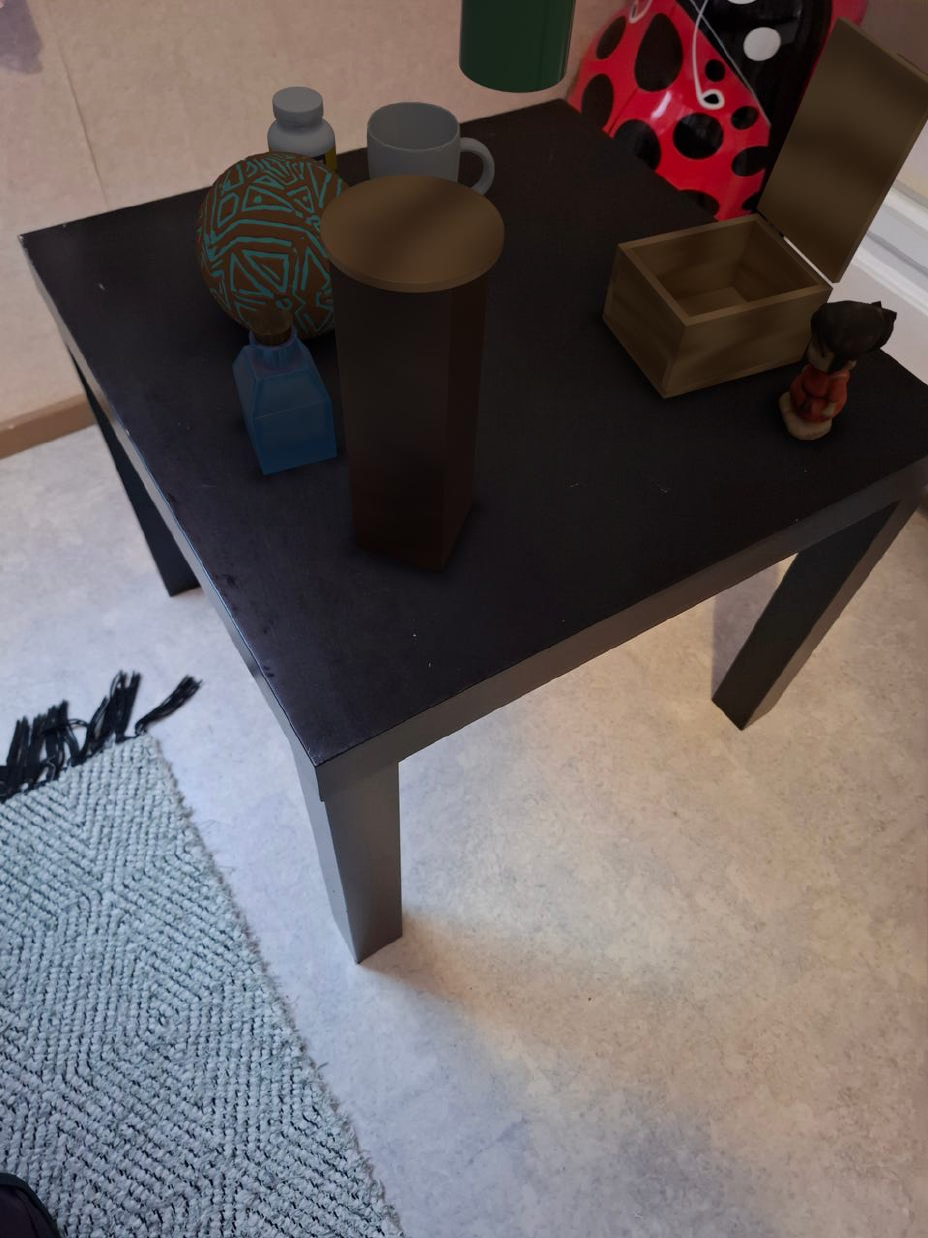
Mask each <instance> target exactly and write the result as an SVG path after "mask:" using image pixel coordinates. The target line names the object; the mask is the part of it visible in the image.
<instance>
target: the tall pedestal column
mask: <svg viewBox="0 0 928 1238" xmlns="http://www.w3.org/2000/svg"><path fill="white" fill-rule="evenodd" d="M349 187H350V188H348V189H346V190H345V191H343V192H342V193H340V194H339V195H338V196H336V197H335V198H334V199H333V200H332V201H331V202H330V203H329V204H328V206H327V207H326V209H325V210H324V212H323V215H322V217H321V221H320V237H321V243H322V247H323V250H324V252H325V253H326V255H327V257H328V260H329V271H330V281H331V292H332V302H333V313H334V323H335V329H334V331H335V341H336V342H335V343H336V353H337V364H338V373H339V384H340V394H341V395H340V396H341V403H342V404H341V405H342V406H341V407H342V415H343V416H342V417H343V426H344V438H345V447H346V458H347V467H348V478H349V489H350V501H351V510H352V511H351V512H352V520H353V521H352V522H353V531H354V541H355V547H356V548H359V549H362V550H365V551H368V552H372V553H374V554H377V555H378V554H379V555H381V556H384V557H388V558H390V559H394V560H397V561H400V562H403V563H407V564H410V565H414V566H417V567H420V568H423V569H427V570H430V571H433V572H437V573H439V574H441V573H443V570H444V568H445V565H446V563H447V561H448V559H449V556H450V554H451V552H452V550H453V547H454V545H455V543H456V542H457V538H458V537H459V534H460V532H461V530H462V528H463V526H464V523H465V521H466V519H467V517H468V514H469V512H470V510H471V508H472V497H473V496H472V495H473V481H474V471H475V469H474V468H475V455H476V454H475V453H476V441H477V429H478V418H479V417H478V415H479V404H480V402H479V401H480V390H481V376H482V366H483V365H482V362H483V351H484V349H483V348H484V337H485V324H486V323H485V322H486V310H487V298H488V284H489V272H490V271H489V270H490V269H491V268H492V267H493V266H494V265H495V264H496V262H497V261H498V259H499V258H500V256H501V254H502V252H503V248H504V244H505V225H504V219H503V217H502V216H501V213H500V211H499V210H498V209H497V207H496V206H495V205H494V204H493V203H492V202H491V201H490V200H489V199H488V198H486V196H485V195H484V196H483V195H481V194H480V193H478V192H476V191H475V190H473V189H471V187H469V186H467V185H465V184H462V183H460V182H458V181H457V182H454V181H451V180H447V179H443V178H438V177H433V176H425V175H393V176H385V177H379V178H375V179H371V180H370V179H368V180H365V181H362V182H359V183H356V184H354V185H352V186H349Z"/></svg>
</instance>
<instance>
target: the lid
mask: <svg viewBox="0 0 928 1238" xmlns="http://www.w3.org/2000/svg"><path fill="white" fill-rule="evenodd" d="M814 69H815V70H814V72H813V74H812V77H811V79H810V81H809V84H808V86H807V88H806V90H805V93H804V95H803V98H802V100H801V102H800V105H799V107H798V109H797V111H796V114H795V116H794V119H793V121H792V122H791V123H792V124H791V126H790V128H789V131H788V133H787V135H786V137H785V140H784V142H783V144H782V147H781V149H780V152H779V154H778V156H777V159H776V160H775V163H774V165H773V168H772V170H771V173H770V175H769V178H768V179H767V182H766V185H765V186H764V189H763V192H762V194H761V196H760V199H759V201H758V204H757V206H756V209H757V211H758V212H760V214H762V216H764V218H766V220H767V221H768V222H769V223H770V224H772V226H774V227H775V228H776V229H777V230H778V231H779V233H780V234H782V235H783V236H784V238H786V239H787V241H789V242H790V243H791V244H792V245H793V246H794V247H795V248H796V249H797V250H798V251H799V252H800V253H801V254H802V255H803V256H804V258H806V259H807V260H808V261H809V263H811V264H812V265H813V266H814V267H815V268H816V269H817V270H818V271H819V272H820V273H821V275H823V276H824V277H825V278H826V279H827V280H828V281H829V282H830V283H831V284H833V285H834V284H839V283H840V282H841V280H842V279H843V277H844V275H845V273H846V272H847V269H848V268H849V266H850V264H851V262H852V260H853V259H854V256H855V255H856V254H857V251H858V249H859V247H860V245H861V244H862V243H863V240H864V238H865V236H866V234H867V232H868V231H869V229H870V227H871V225H872V223H873V222H874V220H875V218H876V217H877V214H878V213H879V210H880V209H881V207H882V205H883V203H884V201H885V200H886V197H887V195H888V194H889V192H890V190H891V188H892V187H893V185H894V183H895V181H896V179H897V177H898V176H899V174H900V172H901V170H902V168H903V166H904V165H905V163H906V161H907V159H908V158H909V155H910V154H911V151H912V150H913V148H914V146H915V144H916V143H917V141H918V138H919V137H920V135H921V133H922V131H923V130H924V128H925V126H926V124H927V122H928V73H927V72H926V71H924V70H923V69H922V68H920V67H919V66H918V65H916V64H915V63H913V62H912V61H911V60H909V59H908V58H907V57H905V56H904V55H902V54H901V53H896V52H894V51H893V50H892V49H890V48H889V47H888V46H886V45H885V44H883V43H882V42H880V41H879V40H878V39H877V38H875V37H874V36H872V35H871V34H870V33H868V32H867V31H866V30H864V29H863V28H861V27H860V26H859V25H857V24H856V23H854V22H853V21H852V20H850V19H849V18H848V17H847V16H837V18H836V20H835V22H834V24H833V27H832V29H831V31H830V33H829V37H828V38H827V41H826V44H825V46H824V47H823V51H822V52H821V55H820V58H819V60H818V62H817V65H816V68H814Z"/></svg>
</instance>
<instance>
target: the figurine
mask: <svg viewBox="0 0 928 1238" xmlns="http://www.w3.org/2000/svg"><path fill="white" fill-rule="evenodd" d="M897 316H898V312H897V311H894V310H892V309H890V308H885V307H883V304H882V301H881V300H877V301H872V302H871V303H869V302H864V301H857V300H851V299H846V300H838V301H832V302H831V301H830V302H827V303H823V304H822V305H821V306H820V308H819V309H818V310H817V311H816V312H815V313H813V315H812V318H811V320H810V322H811V333H812V337H811V339H810V341H809V343H808V348H807V352H806V358H807V360H808V364H806V365H805V366H803V367H802V370H801V373H800V374H799V375H797V376H795V378H794V379H793V380H792V382H791V383H790V385H789V391H787V392H784V393H783V394H782V395H781V396H780V397H779V398H778V407H779V411H780V414H781V418H782V421H783V423H784V426H785V427H786V430H787V432H788V434H789V435H790V436H791V437H792V438H793V439H796V440H797V439H798V440H799V441H801V440H802V441H814V440H817V439H820V438H822V437H824V435H826V434H828V433H829V432H831V429H832V424H833V423H832V421H833V418H835V417H836V416H837V415H838V414H839V413H840V412H841V411H843V409H844V406H845V405H846V402H847V399H848V393H847V391H848V390H847V389H848V388H847V383H848V381H849V380H850V378H851V377H850V370H852V369H854V367H855V366H856V364H857V361H858V360H859V359H860V358H862V356H864V355H865V354H869V353H873V352H875V351H878V350H880V349H882V348H883V347H884V346H885V345H887V344H888V341H889V340H890V338H891V336H892V334H893V332H894V330H895V322H896V320H897Z"/></svg>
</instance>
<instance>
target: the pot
mask: <svg viewBox="0 0 928 1238" xmlns="http://www.w3.org/2000/svg"><path fill="white" fill-rule="evenodd" d="M576 4H577V0H460V19H459V20H460V21H459V43H458V45H459V46H458V68H459V69H460V71H461V72H462V74H463V75H464V76H465V77H466V78H467V79H469V80H470V81H471V82H473V83H475V84H477V85H479V86H481V87H483V88H487V89H489V90H494V91H498V92H503V93H511V94H527V93H529V94H530V93H535V92H536V93H537V92H541V91H545V90H548V89H550V88H553V87H554V86H556V85H558V84H559V83H561V82H562V81H563V80H564V78H565V76H566V74H567V71H568V64H569V55H570V50H571V41H572V35H573V26H574V21H575V20H574V19H575V12H576V6H577V5H576Z"/></svg>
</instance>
